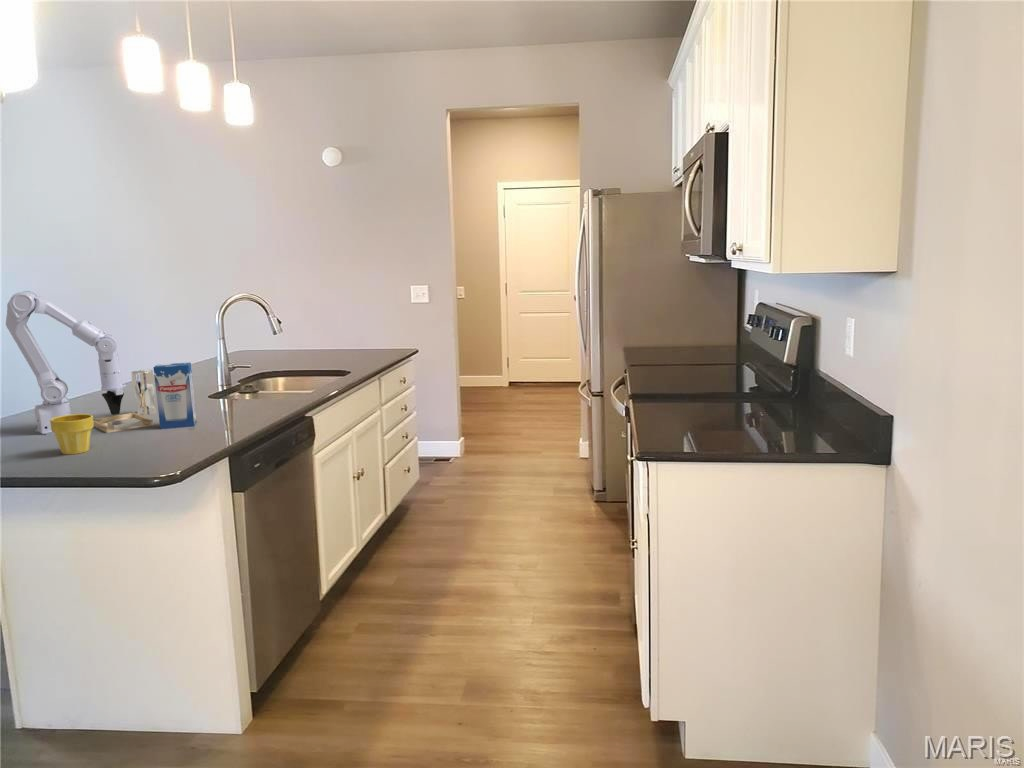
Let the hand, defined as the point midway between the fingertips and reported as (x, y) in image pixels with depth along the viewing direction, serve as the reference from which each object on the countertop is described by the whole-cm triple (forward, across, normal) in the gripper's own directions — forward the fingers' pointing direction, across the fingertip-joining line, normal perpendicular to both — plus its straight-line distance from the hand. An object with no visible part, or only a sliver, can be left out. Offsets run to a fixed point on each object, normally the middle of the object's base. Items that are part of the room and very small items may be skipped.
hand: (115, 414), depth 244 cm
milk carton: (+4, -22, -12) cm, 25 cm away
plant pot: (+3, -28, +19) cm, 34 cm away
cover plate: (+3, -8, 0) cm, 9 cm away
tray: (+3, -6, 0) cm, 6 cm away
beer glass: (+3, +8, -12) cm, 14 cm away
